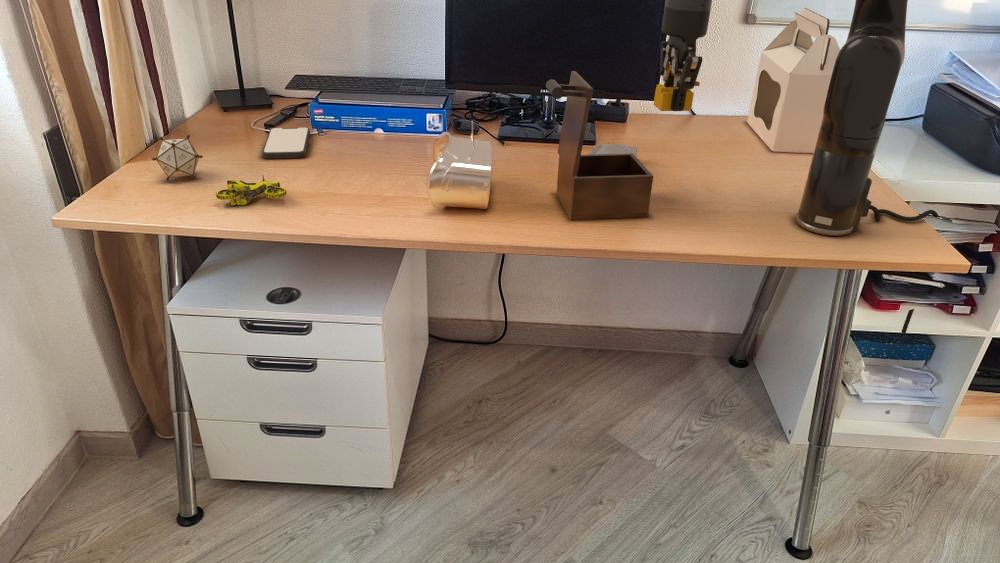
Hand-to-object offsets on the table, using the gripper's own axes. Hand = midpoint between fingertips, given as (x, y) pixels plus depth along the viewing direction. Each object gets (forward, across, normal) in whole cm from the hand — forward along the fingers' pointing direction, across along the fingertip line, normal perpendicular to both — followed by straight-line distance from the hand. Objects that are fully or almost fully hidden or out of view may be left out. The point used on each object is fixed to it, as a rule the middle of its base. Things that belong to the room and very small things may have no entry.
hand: (672, 106), depth 127 cm
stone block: (+18, +16, +5) cm, 24 cm away
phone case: (+18, +33, +72) cm, 81 cm away
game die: (+18, +16, +90) cm, 93 cm away
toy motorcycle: (+18, +4, +75) cm, 77 cm away
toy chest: (+17, -3, +12) cm, 22 cm away
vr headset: (+18, +3, +38) cm, 42 cm away
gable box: (+17, +32, -43) cm, 56 cm away
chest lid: (+2, -3, +18) cm, 19 cm away
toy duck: (0, 0, 0) cm, 0 cm away
